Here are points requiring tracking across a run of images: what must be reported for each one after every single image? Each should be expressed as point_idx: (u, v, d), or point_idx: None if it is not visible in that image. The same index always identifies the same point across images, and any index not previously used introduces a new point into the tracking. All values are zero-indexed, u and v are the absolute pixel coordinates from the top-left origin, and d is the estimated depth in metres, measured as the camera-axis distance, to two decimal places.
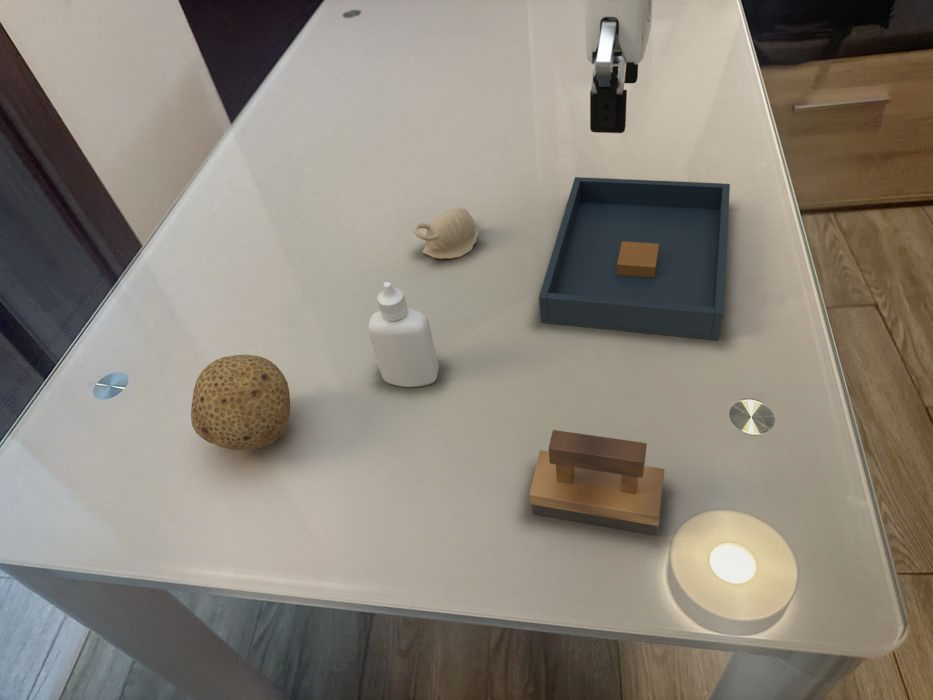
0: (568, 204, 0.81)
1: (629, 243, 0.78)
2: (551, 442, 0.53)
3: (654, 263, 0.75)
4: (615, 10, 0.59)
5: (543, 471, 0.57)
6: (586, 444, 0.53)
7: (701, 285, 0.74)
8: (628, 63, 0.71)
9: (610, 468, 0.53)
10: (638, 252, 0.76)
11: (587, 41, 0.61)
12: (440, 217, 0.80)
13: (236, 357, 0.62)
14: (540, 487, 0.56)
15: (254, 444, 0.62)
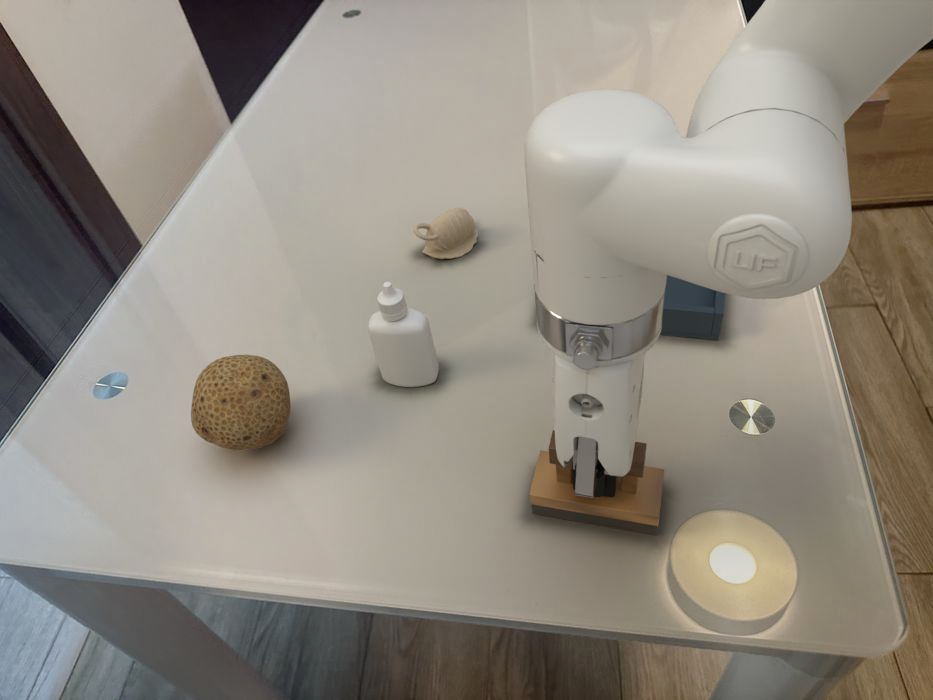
0: None
1: None
2: (551, 442, 0.53)
3: None
4: (593, 433, 0.43)
5: (542, 471, 0.57)
6: None
7: None
8: None
9: None
10: None
11: (557, 449, 0.46)
12: (440, 217, 0.80)
13: (236, 357, 0.62)
14: (540, 487, 0.56)
15: (254, 444, 0.62)
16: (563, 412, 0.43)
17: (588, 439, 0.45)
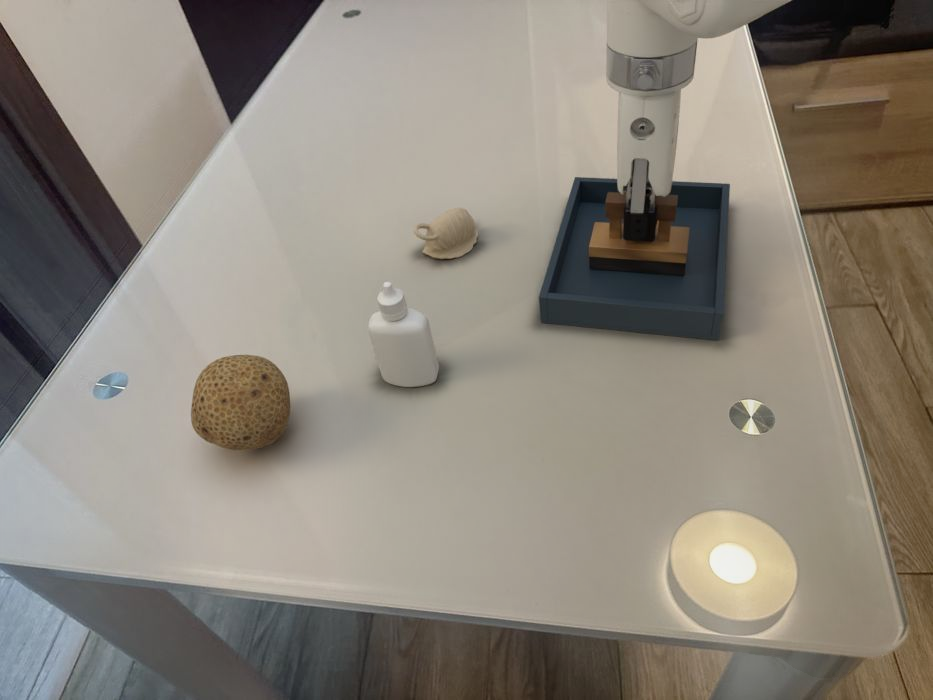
0: (568, 204, 0.81)
1: None
2: (607, 198, 0.72)
3: None
4: (646, 153, 0.63)
5: (598, 233, 0.76)
6: None
7: (701, 285, 0.74)
8: None
9: None
10: None
11: (618, 176, 0.65)
12: (440, 217, 0.80)
13: (236, 357, 0.62)
14: (597, 242, 0.75)
15: (254, 444, 0.62)
16: (625, 138, 0.62)
17: (641, 164, 0.64)
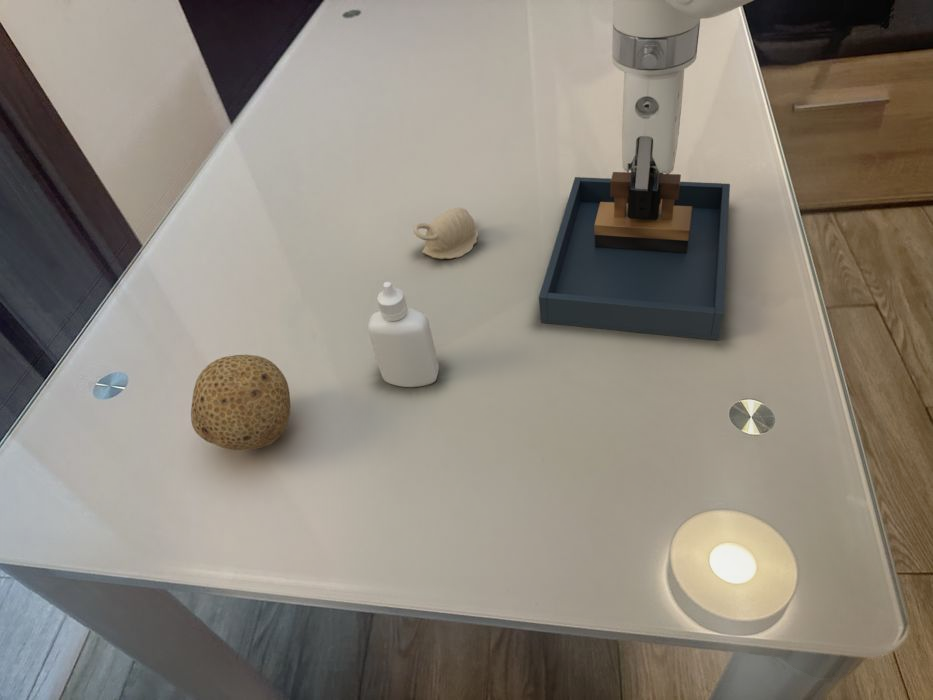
0: (568, 204, 0.81)
1: None
2: (612, 177, 0.75)
3: None
4: (650, 131, 0.65)
5: (603, 212, 0.79)
6: None
7: (701, 285, 0.74)
8: None
9: None
10: None
11: (623, 154, 0.68)
12: (440, 217, 0.80)
13: (236, 357, 0.62)
14: (602, 220, 0.78)
15: (254, 444, 0.62)
16: (630, 116, 0.65)
17: (645, 142, 0.67)
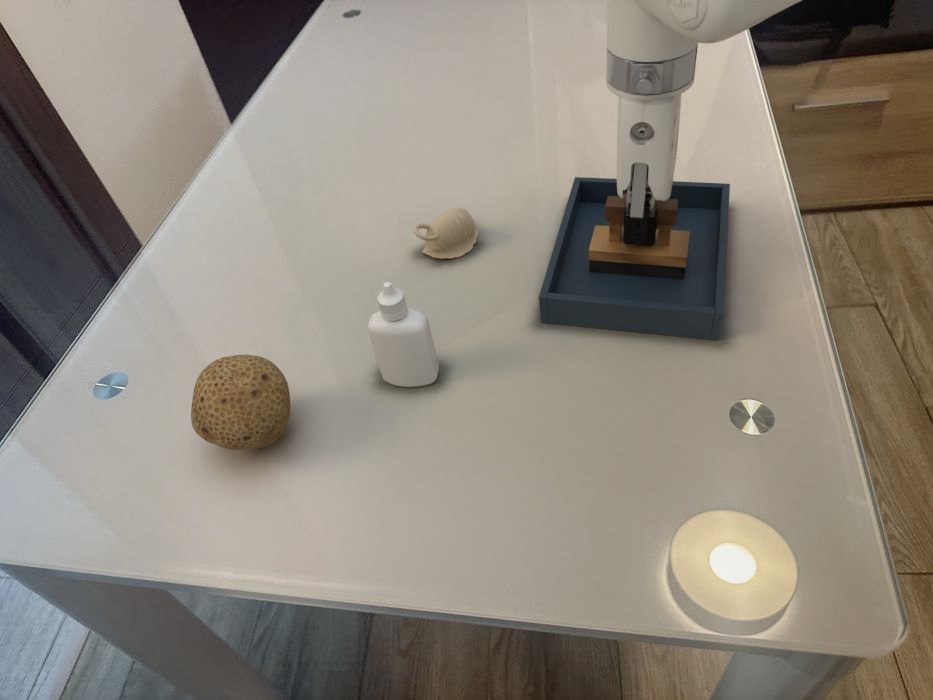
0: (568, 204, 0.81)
1: None
2: (607, 202, 0.72)
3: None
4: (646, 157, 0.62)
5: (598, 236, 0.76)
6: None
7: (701, 285, 0.74)
8: None
9: None
10: None
11: (618, 181, 0.65)
12: (440, 217, 0.80)
13: (236, 357, 0.62)
14: (597, 245, 0.75)
15: (254, 444, 0.62)
16: (625, 142, 0.62)
17: (641, 168, 0.64)
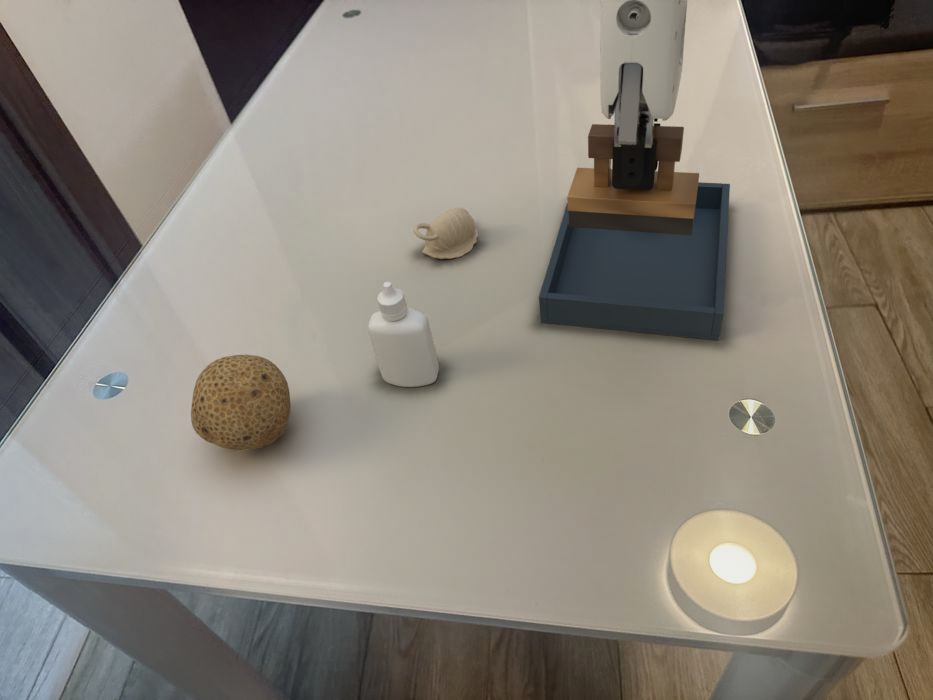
0: None
1: None
2: (590, 131, 0.55)
3: None
4: (639, 54, 0.45)
5: (580, 180, 0.59)
6: None
7: (701, 285, 0.74)
8: None
9: None
10: None
11: (602, 92, 0.48)
12: (440, 217, 0.80)
13: (236, 357, 0.62)
14: (578, 191, 0.58)
15: (254, 444, 0.62)
16: (610, 32, 0.45)
17: (633, 73, 0.47)
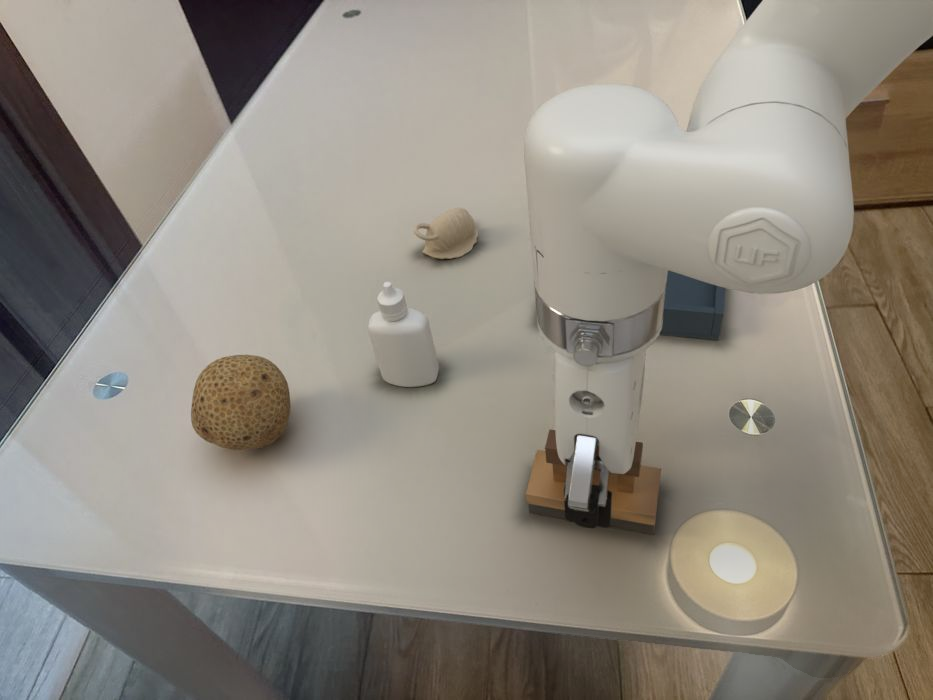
0: None
1: None
2: (548, 441, 0.53)
3: None
4: (594, 430, 0.43)
5: (539, 470, 0.57)
6: None
7: (701, 285, 0.74)
8: None
9: None
10: None
11: (558, 447, 0.46)
12: (440, 217, 0.80)
13: (236, 357, 0.62)
14: (537, 486, 0.56)
15: (254, 444, 0.62)
16: (564, 409, 0.43)
17: None
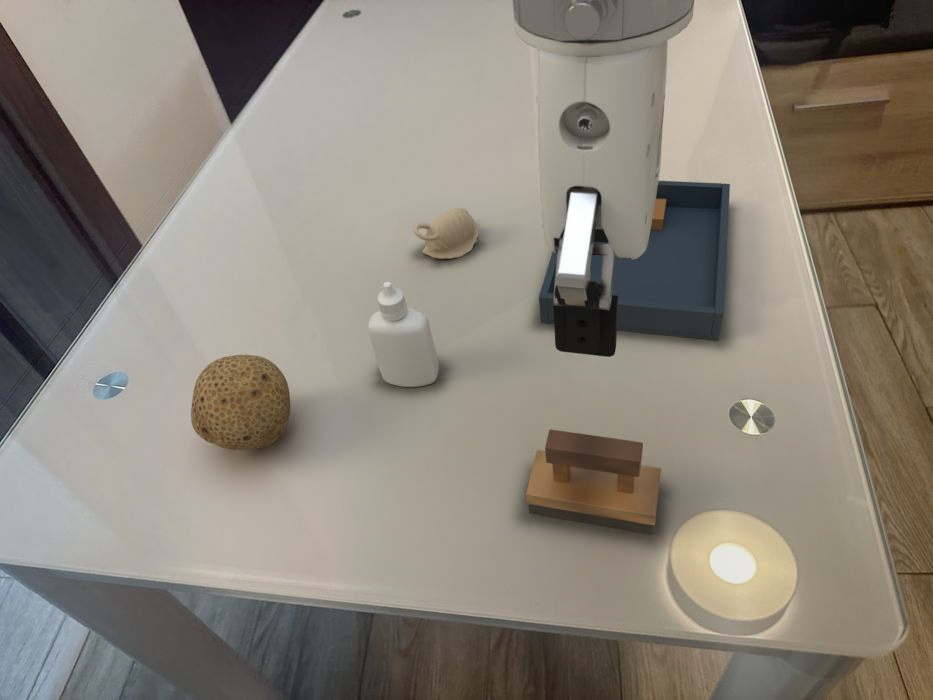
0: None
1: None
2: (548, 441, 0.53)
3: (662, 216, 0.80)
4: (594, 176, 0.30)
5: (539, 470, 0.57)
6: (582, 443, 0.53)
7: (701, 285, 0.74)
8: None
9: (606, 467, 0.53)
10: None
11: (544, 220, 0.33)
12: (440, 217, 0.80)
13: (236, 357, 0.62)
14: (537, 486, 0.56)
15: (254, 444, 0.62)
16: (551, 144, 0.30)
17: None
